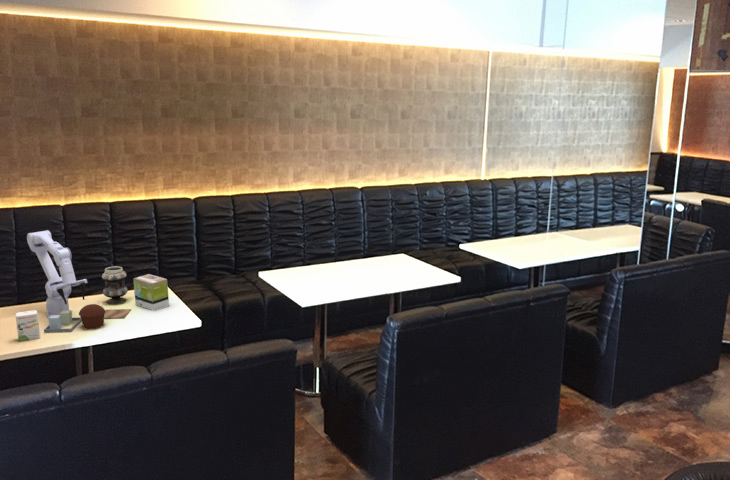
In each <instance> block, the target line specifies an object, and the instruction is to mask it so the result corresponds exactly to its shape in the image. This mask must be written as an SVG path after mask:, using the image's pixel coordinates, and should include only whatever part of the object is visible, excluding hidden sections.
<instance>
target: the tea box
mask: <svg viewBox="0 0 730 480" xmlns="http://www.w3.org/2000/svg"><path fill="white" fill-rule="evenodd" d="M132 282H133V290H134V291H133V293H134V301H135V302H134V305H135V306H139V307H142V308H144V309H147V310H149V311H152V310H153V312H155V311H157V309H158V310H160V308H161V309H164V308H166V306H167V307H168V306H170V300H169V299H170V298H169V286H168V279H167V278H164V277H162V276H157V275H153V274H150V273H147V274H144V275H140V276H138V277H134V278H133V281H132ZM163 307H164V308H163ZM154 310H155V311H154Z"/></svg>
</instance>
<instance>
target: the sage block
mask: <svg viewBox="0 0 730 480" xmlns="http://www.w3.org/2000/svg"><path fill="white" fill-rule="evenodd" d="M72 313H73V310H71V309H69V310H62V311H61V312H60V313H59V314H60V315H61V322H62V326H71V324H72V323H73V322H74V321H72V318H73V314H72Z"/></svg>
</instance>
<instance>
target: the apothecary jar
mask: <svg viewBox="0 0 730 480" xmlns="http://www.w3.org/2000/svg"><path fill="white" fill-rule="evenodd" d="M126 277H127V272H126V271H124V269H123V267H122V266H117V265H114V266H109V267H106V268H104V273H102V275H101V278H102V280H103V281H104V288H103V290H102V294H103V296H105V297H106V298H109V299H108V300H106V302H105V304H107V305H113V306H114V305H120V304H121V305H122V304H124V303H126V302H127V299H126V298H125V297H124V298H123V296H126V294H127V293H128V291H129V289H128V287H127V286H126V284H125V283H126V282H125V279H126Z"/></svg>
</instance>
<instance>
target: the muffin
mask: <svg viewBox="0 0 730 480" xmlns="http://www.w3.org/2000/svg"><path fill="white" fill-rule="evenodd" d="M105 310H106V309H105V308H104V307H103V306H101V305H99V304H96V303H90V304H86V305H84V306H83V307H82V308H81V309H80V310H79V311H78V315H79V317H81V320H82V322H81V323H82V327H83V329H86V330H95V329H100V328H101V327H103V326H104V325H105V324H104V322H105V319H104V313H105V312H106V311H105Z"/></svg>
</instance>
